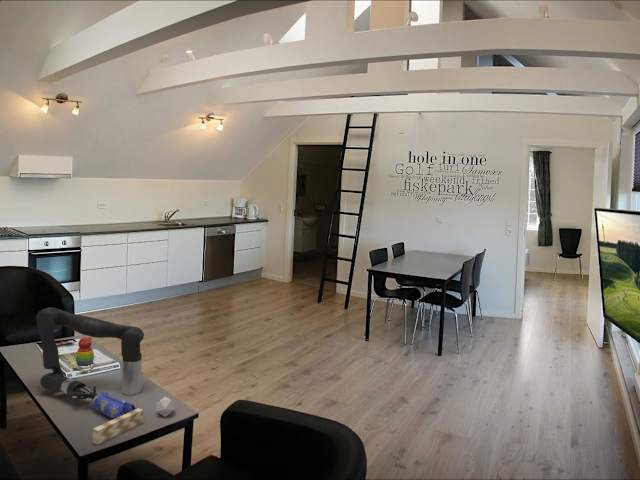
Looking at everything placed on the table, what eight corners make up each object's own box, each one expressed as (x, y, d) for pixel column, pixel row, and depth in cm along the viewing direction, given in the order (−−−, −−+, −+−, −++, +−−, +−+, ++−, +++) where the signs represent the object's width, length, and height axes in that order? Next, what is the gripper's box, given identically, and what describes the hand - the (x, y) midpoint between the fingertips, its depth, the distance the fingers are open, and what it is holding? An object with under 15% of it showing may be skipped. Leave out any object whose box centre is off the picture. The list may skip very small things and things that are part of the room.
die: (162, 410, 247) (151, 398, 242) (178, 402, 247) (168, 390, 242) (162, 423, 240) (151, 411, 235) (178, 414, 241) (168, 402, 235)
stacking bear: (90, 363, 298) (91, 333, 296) (97, 368, 291) (98, 338, 289) (71, 367, 290) (71, 337, 288) (78, 372, 283) (78, 341, 281)
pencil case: (136, 420, 234) (136, 400, 233) (120, 427, 227) (120, 406, 226) (106, 406, 246) (107, 387, 245) (90, 412, 239) (90, 392, 238)
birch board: (138, 420, 234) (138, 408, 233) (143, 422, 233) (143, 409, 232) (92, 442, 213) (92, 428, 212) (97, 444, 212) (97, 430, 211)
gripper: (60, 385, 242) (84, 394, 234) (85, 376, 254) (108, 385, 245) (60, 400, 243) (84, 410, 235) (85, 391, 255) (108, 400, 246)
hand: (96, 397), depth 240 cm, fingers closed
